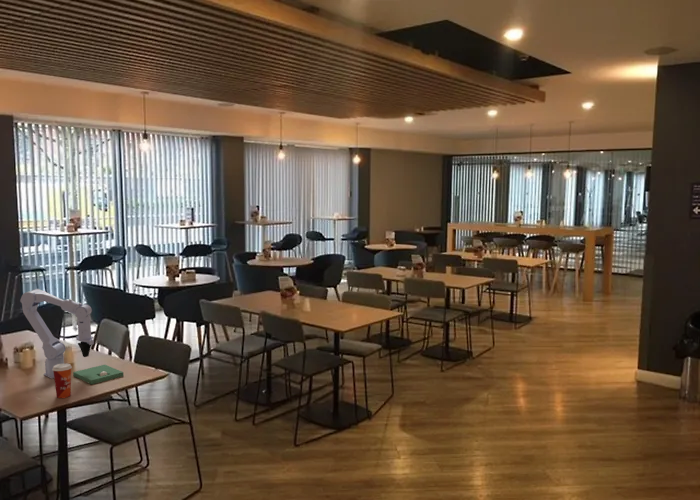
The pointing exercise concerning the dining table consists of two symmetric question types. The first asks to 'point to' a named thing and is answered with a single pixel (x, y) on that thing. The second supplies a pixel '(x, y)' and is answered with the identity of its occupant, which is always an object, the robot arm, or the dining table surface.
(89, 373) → the putting deck
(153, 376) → the dining table surface
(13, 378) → the dining table surface
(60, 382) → the paper cup
